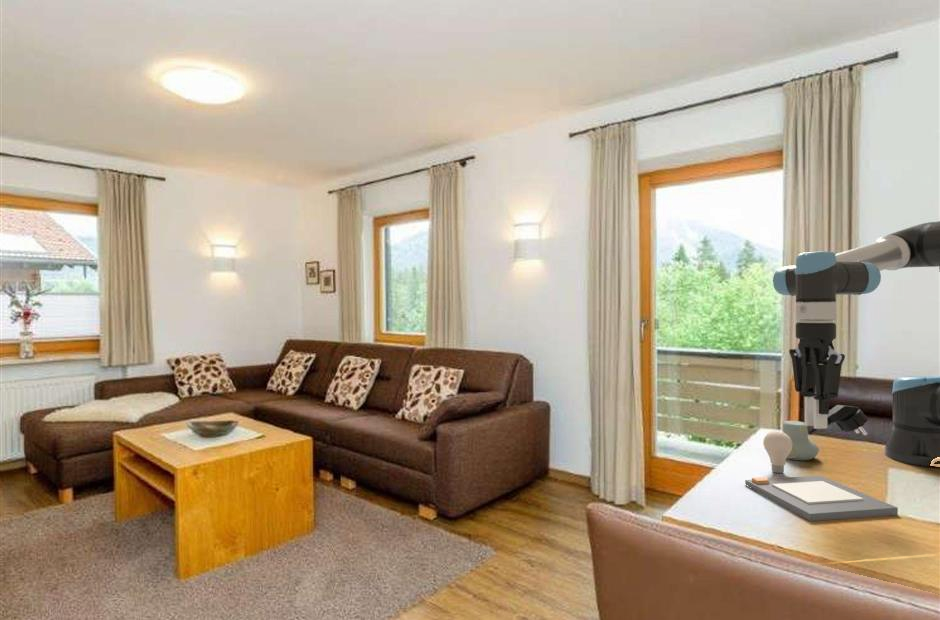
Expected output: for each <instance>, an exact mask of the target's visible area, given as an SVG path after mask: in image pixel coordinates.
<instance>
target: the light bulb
mask: <svg viewBox="0 0 940 620" xmlns="http://www.w3.org/2000/svg"><path fill="white" fill-rule="evenodd" d="M762 445H763V447H764V449H765V451H766V453H767V455H768V457H769V461H770V463H771V471H772V472H773V473H775V474H783V473H784V471H785V465H786V461H787V459H788V458H787V457H788V455H789V454H790V452H791V450H792V441H791V439H790V437H789V436H788V435H787V434H785V433H783V431H780V430H774V431H773V430H772V431H769V432H768V433H766V434H765V436H764V437H763V443H762Z"/></svg>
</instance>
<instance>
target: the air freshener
mask: <svg viewBox="0 0 940 620" xmlns="http://www.w3.org/2000/svg"><path fill="white" fill-rule="evenodd" d="M808 428H809V426H805V421H800V420H798V421H797V420H784V421H783V422H782V432H783V433H785V434H787V435H788V436H789V437H790V439H791V441H792V450H791V452H790V454H789V455H788V457H787V458H786V459H787V460H788V459H789V460H792V461H793V460H794V461H809V460H812V459H814V458H816V457H817V456H818V454H819V450H820V449H819V446H818V444H816V443H815V442H814V441H813V440H812V439H810V438H808V437H809V436H808V435H809V434H808V432H809V430H808Z"/></svg>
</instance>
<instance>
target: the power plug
mask: <svg viewBox="0 0 940 620" xmlns="http://www.w3.org/2000/svg"><path fill="white" fill-rule="evenodd" d="M868 419H869V418H868V417H867V416H866V414H864V412H863V411H862V410H861V409H860V408H859V406H854V405H853V406H852V405H841V404H836V405H835V406H834V407H832V408H831V409H829V413H828V414H827V427H829V426H830V425H832V424H834V423H835V424H836V426H837V427H838V428H840V430H841V431H842V432H847V433H848V432H852V431H854V433H855V434H860V432H861V433H862V434H863V435H864V436H868V434H869V433H868V432H867V431H866V430H865V428H864V427H863V426H864V425H865V424H866V423H867V422H868ZM818 430H819V429H815V428H814V427H813V428H812V429H811V430H808V435H812V434H813V433H815V432H817V431H818Z"/></svg>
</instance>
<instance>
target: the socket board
mask: <svg viewBox="0 0 940 620" xmlns="http://www.w3.org/2000/svg"><path fill="white" fill-rule="evenodd" d="M744 483H745V484H746V485H748V486H749V487H751V488H753V489H754V490H753V489H752V490H753V491H755V490H756V491H758V492H759V493H758V492H757V493H758V494H760V493H761V494H760V495H762V494H763V495H764V496H763V495H762V496H763V497H765V496H766V497H765V498H767V497H768V498H767V499H769V500H771V501H772V502H774V501H775V502H774V503H776V504H778V505H779V506H781V507H783V508H785V509H787V510H789V511H790V512H792V513H794V514H796V515H798V516H799V517H801V518H803V519H806V520H807V521H809V522H817V521H830V520H844V519H845V520H846V519H858V518H859V519H860V518H873V517H886V516H898V513H899V512H898V511H899V509H898V507H897V506H895V505H892V504H891V503H888V502H885V501H883V500H881V499H878V498H875V497H873V496H871V495H868V494H866V493H863V492H861V491H858V490H857V489H854V488H851V487H849V486H847V485H844V484H842V483H840V482H838V481H836V480H835V481H834V480H833V479H830V478H827V477H825V476H823V475H820V474H819V475H808V476H807V475H806V476H804V475H803V476H789V477H787V476H786V477H773V478H772V477H771V478H766V477H763V476H762V477H751V479H745V480H744ZM746 485H745V486H746ZM749 487H748V488H749ZM751 488H750V489H751ZM756 491H755V492H756Z"/></svg>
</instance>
